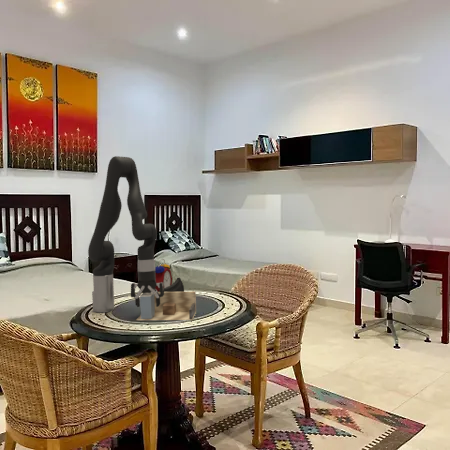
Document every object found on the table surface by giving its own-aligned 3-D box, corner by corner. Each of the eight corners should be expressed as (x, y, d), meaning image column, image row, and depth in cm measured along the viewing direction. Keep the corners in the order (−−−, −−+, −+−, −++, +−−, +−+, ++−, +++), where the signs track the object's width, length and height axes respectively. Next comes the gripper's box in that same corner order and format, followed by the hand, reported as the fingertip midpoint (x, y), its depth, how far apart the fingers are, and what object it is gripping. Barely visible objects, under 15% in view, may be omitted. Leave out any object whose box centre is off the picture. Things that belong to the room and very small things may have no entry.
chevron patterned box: (135, 322, 190) (134, 299, 190) (144, 313, 205) (143, 292, 204) (191, 322, 189) (191, 298, 188) (196, 313, 204) (195, 291, 203)
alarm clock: (163, 297, 240) (162, 260, 239) (148, 296, 242) (147, 260, 241) (173, 291, 254) (171, 256, 253) (158, 291, 256) (157, 256, 255)
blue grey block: (140, 319, 192) (139, 295, 191) (144, 314, 199) (143, 292, 198) (151, 318, 192) (150, 295, 191) (154, 314, 199) (154, 292, 198)
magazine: (160, 293, 207) (181, 265, 234) (154, 292, 208) (175, 265, 235) (165, 324, 213) (185, 294, 240) (159, 324, 213) (179, 294, 241)
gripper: (128, 271, 191) (129, 308, 192) (160, 270, 190) (162, 308, 191) (132, 268, 198) (134, 304, 199) (164, 268, 197) (165, 304, 198)
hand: (148, 306), depth 195 cm, fingers open, 8 cm apart
